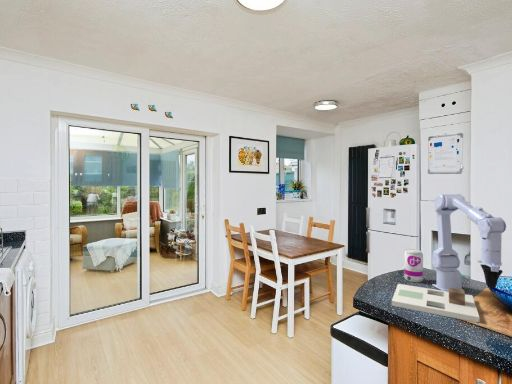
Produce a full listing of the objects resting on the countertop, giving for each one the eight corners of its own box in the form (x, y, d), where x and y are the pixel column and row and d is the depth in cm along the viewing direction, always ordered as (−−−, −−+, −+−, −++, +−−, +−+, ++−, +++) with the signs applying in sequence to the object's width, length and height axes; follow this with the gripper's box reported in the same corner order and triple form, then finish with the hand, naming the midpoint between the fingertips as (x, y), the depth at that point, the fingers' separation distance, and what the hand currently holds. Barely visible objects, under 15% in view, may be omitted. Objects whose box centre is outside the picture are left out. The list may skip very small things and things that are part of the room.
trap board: (472, 300, 120) (472, 295, 120) (479, 322, 101) (479, 317, 101) (397, 287, 135) (398, 283, 135) (391, 305, 115) (391, 300, 115)
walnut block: (463, 301, 114) (463, 290, 114) (464, 305, 110) (464, 294, 110) (448, 298, 117) (448, 287, 117) (449, 303, 113) (449, 291, 113)
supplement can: (422, 283, 140) (422, 253, 140) (403, 281, 144) (403, 251, 144) (423, 279, 147) (423, 250, 146) (405, 276, 151) (405, 248, 151)
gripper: (475, 245, 116) (474, 278, 116) (480, 252, 103) (480, 290, 104) (497, 246, 112) (497, 281, 112) (506, 255, 100) (506, 293, 100)
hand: (490, 285), depth 108 cm, fingers open, 3 cm apart
